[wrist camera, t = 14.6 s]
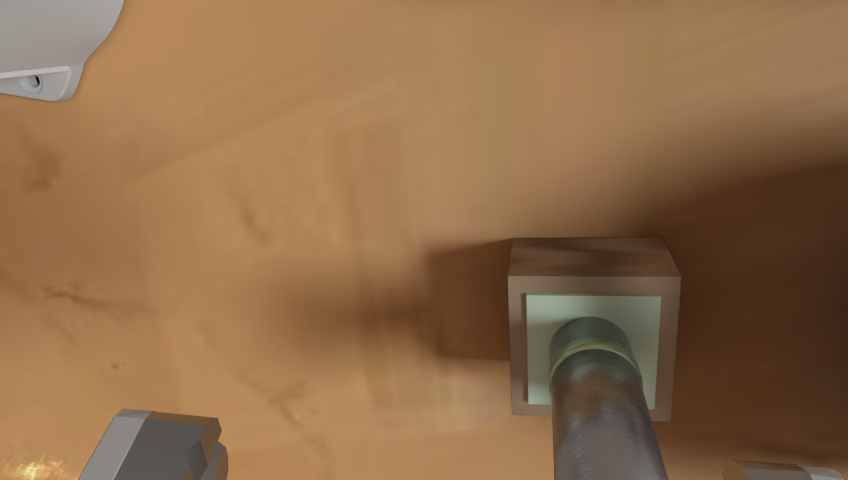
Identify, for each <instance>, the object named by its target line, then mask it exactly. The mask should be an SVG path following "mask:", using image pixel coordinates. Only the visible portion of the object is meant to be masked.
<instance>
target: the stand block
mask: <svg viewBox="0 0 848 480" xmlns="http://www.w3.org/2000/svg"><path fill="white" fill-rule="evenodd" d="M680 291H681V275H680V273H679V271H678V269H677V267H676V264H675V262H674V260H673V258H672V256H671V254H670V252H669V250H668V248H667V246H666V244H665V242H664V240H663V238H662V237H618V238H513V242H512V249H511V256H510V263H509V271H508V302H509V335H510V369H511V402H512V415H530V416H552V404H551V396H550V393H549V378H548V375H549V367H550V354H549V351H550V344H551V341H552V338H553V336H554V335H555V333H556V332H557V331H558V330H559V329H560V328H561V327H562V326H563V325H564V324H566V323H568V322H570V321H572V320H574V319H578V318H582V317H598V318H603V319H606V320H608V321H611V322H612V323H614V324H616V325H617V326H618V327H620V328H621V329H622V330H623V331H624V333H625V334H626V336H627V337H628V339H629V342H630V345H631V349H632V352H633V356H634V358H635V360H636V361H637V364H638V366H639V370H640V373H641V377H642V381H643V392H644V395H645V399H646V402H647V406H648V409H649V413H650V417H651V420H652V421H662V422H671V418H672V404H673V390H674V376H675V362H676V348H677V333H678V319H679V305H680Z"/></svg>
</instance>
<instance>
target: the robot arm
mask: <svg viewBox="0 0 848 480" xmlns="http://www.w3.org/2000/svg"><path fill="white" fill-rule="evenodd" d="M123 2H124V0H0V93H2V94H8V95H14V96H20V97H26V98H32V99H38V100H45V101H65V100H68V99H69V98H71V97H72V96H73V94H74V92H75V90H76V88H77V86H78V83H79V80H80V77H81V73H82V70H83V66H84V63H85V62H86V60H87V58H88V57H89V56H90V55H91V54H92V52H93V51H94V50H95V49H96V48H97V47H98V46H99V45H100V44H101V43H102V42H103V41H104V40H105V38H106V37H107V36H108V34H109V33H110V32H111V30H112V28H113V26H114V25H115V23H116V21H117V19H118V16H119V14H120V11H121V8H122V5H123ZM36 76H37V77H38V78H39V80H40V85H39V84H38V82H37V80H36ZM221 431H222V430H221V427H220V424H219V420H218V418H213V417H203V416H193V415H183V414H173V413H163V412H156V411H145V410H133V409H122V410H121V411H120V412H119V413H118V414H117V415H116V416H115V417H114V418H113V419H112V421H111V423H110V425H109V426H108V428H107V430H106V432H105V433H104V435H103V437H102V439H101V440H100V442H99V444H98V446H97V447H96V449H95V451H94V452H93V454H92V456H91V458H90V459H89V461H88V463H87V465H86V466H85V468H84V470H83V472H82V473H81V475H80V477H79V479H78V480H227V474H228V455H227V450H226V447H224V446H223V445H222V444H221V443H220V442H218V439H219V436H220V434H221ZM722 474H723V477H724V480H844V478H843V476H842V475H841V474H840V473H839V472H838V471H837V470H836V469H832V468H824V467H808V466H797V465H796V464H781V463H766V462H752V461H737V460H734V461H732V462H730V463H728V464H727V465H726V467H725V469H724V471H723V472H722Z"/></svg>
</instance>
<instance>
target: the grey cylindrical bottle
mask: <svg viewBox="0 0 848 480" xmlns="http://www.w3.org/2000/svg"><path fill="white" fill-rule="evenodd" d="M549 354H550V367H549V375H548V378H549V393H550V396H551V404H552V429H553V454H554V479H555V480H668V477H667V474H666V470H665V467H664V463H663V460H662V456H661V452H660V449H659V445H658V442H657V438H656V434H655V431H654V427H653V424H652V420H651V417H650V413H649V409H648V406H647V402H646V399H645V395H644V392H643V381H642V377H641V373H640V370H639V366H638V364H637V361H636V360H635V358H634V356H633V352H632V349H631V345H630V342H629V339H628V337H627V336H626V334H625V333H624V331H623V330H622V329H621V328H620V327H618V326H617V325H616V324H614V323H612V322H611V321H608V320H606V319H603V318H598V317H582V318H578V319H574V320H572V321H570V322H568V323H566V324H564V325H563V326H562V327H561V328H560V329H559V330H558V331H557V332H556V333H555V335H554V336H553V338H552V341H551V344H550V351H549Z"/></svg>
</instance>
